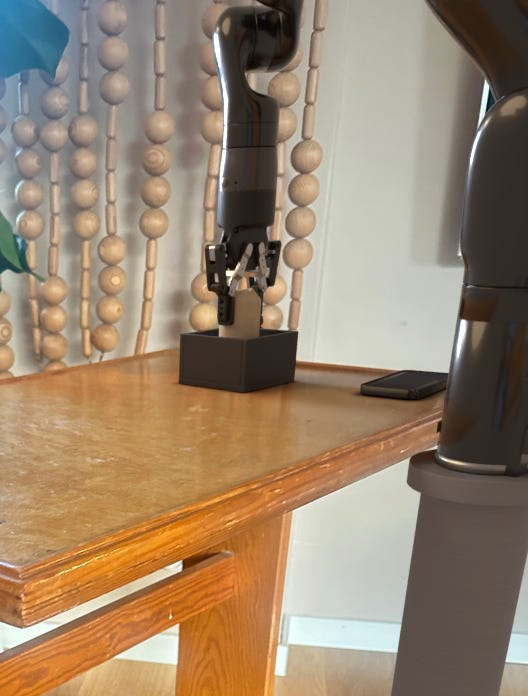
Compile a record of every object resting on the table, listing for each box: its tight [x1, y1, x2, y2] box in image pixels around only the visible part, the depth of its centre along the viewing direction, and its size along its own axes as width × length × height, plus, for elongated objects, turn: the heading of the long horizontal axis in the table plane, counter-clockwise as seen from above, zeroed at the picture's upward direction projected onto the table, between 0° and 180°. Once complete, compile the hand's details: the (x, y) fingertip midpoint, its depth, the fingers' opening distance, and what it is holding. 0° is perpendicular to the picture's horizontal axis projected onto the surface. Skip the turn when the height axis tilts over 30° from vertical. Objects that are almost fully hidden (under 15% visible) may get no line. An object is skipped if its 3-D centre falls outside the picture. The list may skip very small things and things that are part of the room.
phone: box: [359, 369, 449, 400], centre depth 122 cm, size 8×1×15 cm
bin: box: [178, 327, 299, 394], centre depth 130 cm, size 12×12×7 cm
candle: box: [218, 288, 261, 339], centre depth 128 cm, size 6×6×10 cm
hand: (239, 322), depth 127 cm, fingers closed on candle, 5 cm apart
